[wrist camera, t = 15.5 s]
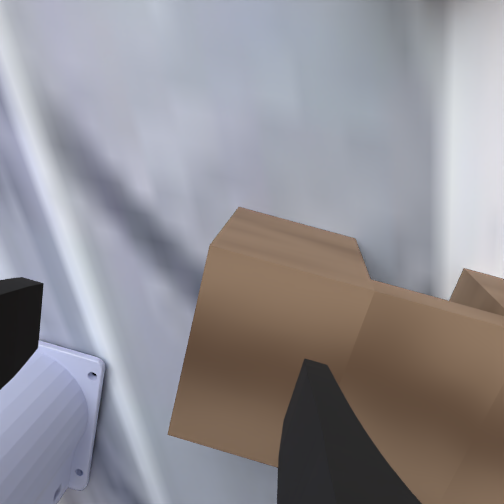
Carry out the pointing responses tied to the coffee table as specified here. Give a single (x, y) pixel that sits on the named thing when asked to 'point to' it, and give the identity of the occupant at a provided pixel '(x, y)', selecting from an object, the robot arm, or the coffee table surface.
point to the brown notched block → (346, 357)
